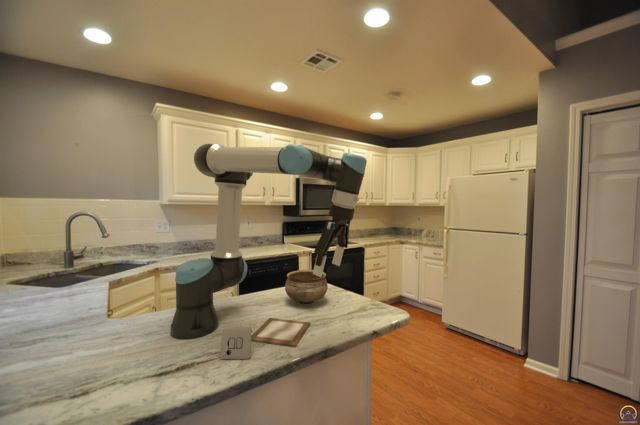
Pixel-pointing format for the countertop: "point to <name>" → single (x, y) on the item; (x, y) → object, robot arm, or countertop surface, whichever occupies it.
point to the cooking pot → (305, 286)
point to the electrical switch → (236, 343)
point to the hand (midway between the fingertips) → (327, 269)
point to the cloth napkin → (280, 332)
